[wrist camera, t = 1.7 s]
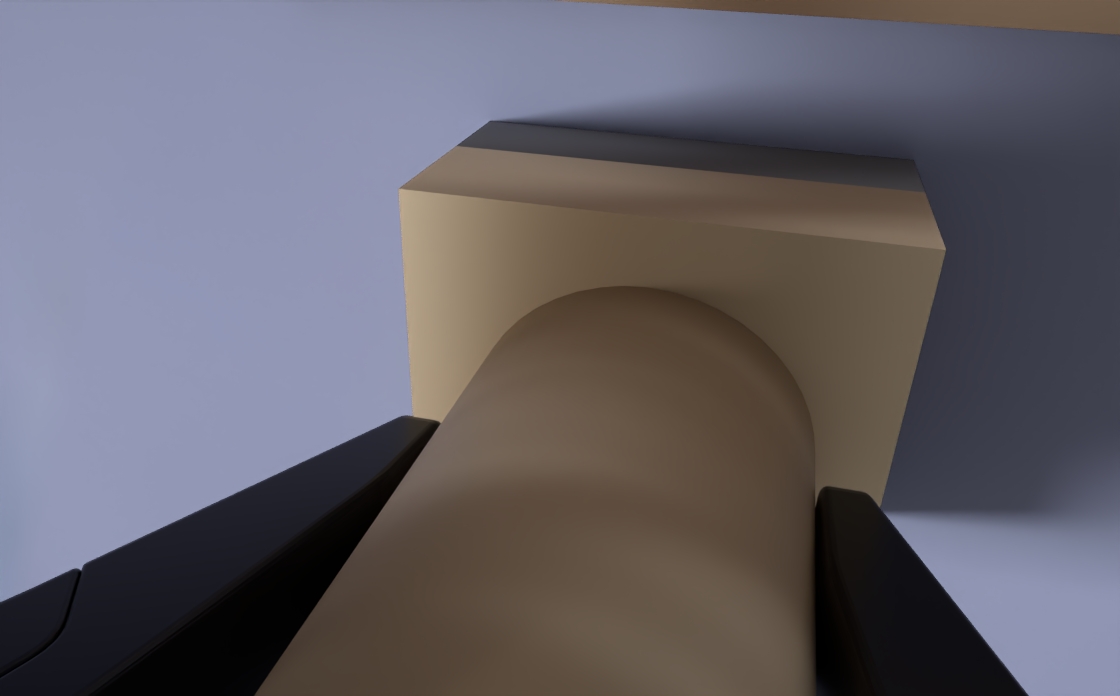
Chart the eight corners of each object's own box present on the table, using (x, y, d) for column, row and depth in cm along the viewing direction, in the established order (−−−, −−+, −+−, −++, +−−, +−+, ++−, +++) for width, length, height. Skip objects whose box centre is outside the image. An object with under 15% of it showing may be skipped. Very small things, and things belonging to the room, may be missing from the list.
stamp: (914, 160, 10) (1255, 1085, 2) (834, 510, 12) (870, 1525, 5) (489, 121, 11) (-249, 665, 3) (494, 451, 13) (72, 1204, 6)
